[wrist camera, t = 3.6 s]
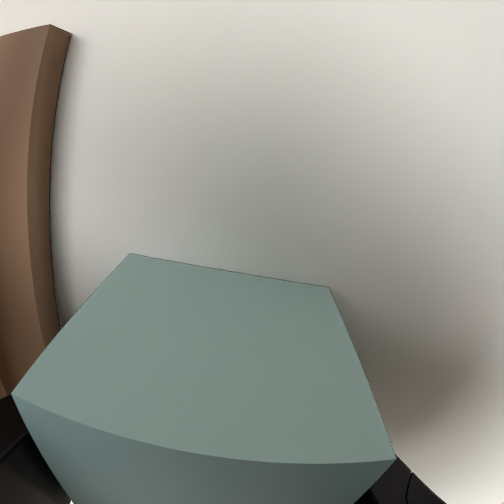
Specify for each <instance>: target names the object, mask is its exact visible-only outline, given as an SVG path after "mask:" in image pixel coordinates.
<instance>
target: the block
mask: <svg viewBox="0 0 504 504" xmlns="http://www.w3.org/2000/svg"><path fill="white" fill-rule="evenodd" d="M11 395H12V397H13V399H14V401H15V404H16V406H17V408H18V410H19V412H20V414H21V417H22V419H23V421H24V423H25V425H26V427H27V429H28V431H29V432H30V434H31V436H32V438H33V440H34V442H35V444H36V445H37V447H38V449H39V451H40V452H41V454H42V456H43V458H44V459H45V461H46V463H47V464H48V466H49V468H50V469H51V471H52V472H53V474H54V475H55V477H56V479H57V480H58V482H59V483H60V485H61V486H62V488H63V489H64V490H65V492H66V493H67V495H68V496H69V498H70V499H71V500H72V502H73V503H74V504H354V503H355V502H356V501H357V500H358V499H359V498H360V497H361V496H362V495H363V494H364V493H365V492H366V491H367V490H368V489H369V488H370V487H371V486H372V485H373V484H374V483H375V482H376V481H377V480H378V479H379V478H380V477H381V475H382V474H383V473H384V472H385V471H386V470H387V469H388V468H389V467H390V466H391V464H392V463H393V462H394V461H395V460H396V456H395V454H394V451H393V448H392V445H391V442H390V439H389V437H388V434H387V431H386V428H385V425H384V423H383V420H382V417H381V415H380V412H379V409H378V407H377V404H376V401H375V399H374V396H373V393H372V391H371V388H370V386H369V383H368V381H367V378H366V375H365V373H364V370H363V368H362V365H361V363H360V360H359V358H358V355H357V353H356V351H355V348H354V346H353V343H352V341H351V338H350V336H349V334H348V331H347V329H346V326H345V324H344V322H343V319H342V317H341V315H340V312H339V310H338V308H337V305H336V303H335V301H334V299H333V296H332V294H331V292H330V289H329V287H323V286H316V285H310V284H303V283H297V282H291V281H285V280H278V279H272V278H266V277H260V276H254V275H248V274H242V273H236V272H230V271H224V270H219V269H213V268H207V267H201V266H196V265H190V264H184V263H179V262H173V261H168V260H162V259H157V258H151V257H146V256H140V255H135V254H129V255H128V256H127V257H126V258H125V259H124V260H123V261H122V262H121V263H120V264H119V265H118V266H117V267H116V269H115V270H114V271H113V272H112V273H111V274H110V275H109V276H108V277H107V278H106V279H105V280H104V281H103V283H102V284H101V285H100V286H99V287H98V288H97V289H96V290H95V291H94V292H93V294H92V295H91V296H90V297H89V298H88V299H87V300H86V301H85V303H84V304H83V305H82V306H81V307H80V308H79V309H78V311H77V312H76V313H75V314H74V315H73V316H72V317H71V319H70V320H69V321H68V322H67V323H66V325H65V326H64V327H63V328H62V329H61V330H60V332H59V333H58V334H57V335H56V336H55V338H54V339H53V340H52V341H51V343H50V344H49V345H48V346H47V347H46V349H45V350H44V351H43V352H42V354H41V355H40V356H39V357H38V359H37V360H36V361H35V363H34V364H33V365H32V366H31V368H30V369H29V370H28V372H27V373H26V374H25V375H24V377H23V378H22V379H21V381H20V382H19V383H18V385H17V386H16V387H15V389H14V390H13V392H12V393H11Z"/></svg>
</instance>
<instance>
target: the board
mask: <svg viewBox="0 0 504 504" xmlns="http://www.w3.org/2000/svg"><path fill="white" fill-rule="evenodd" d="M70 35H71V33H69V32H67V31H65V30H63V29H60V28H58V27H55V26H53V25H51V24H49V25H44V26H39V27H35V28H30V29H26V30H22V31H18V32H14V33H11V34H7V35H4V36H0V399H1V398H3V397H5V396H7V395H9V394H11V393H12V392H13V390H14V389H15V387H16V386H17V385H18V383H19V382H20V381H21V379H22V378H23V377H24V375H25V374H26V373H27V372H28V370H29V369H30V368H31V366H32V365H33V364H34V363H35V361H36V360H37V359H38V357H39V356H40V355H41V354H42V352H43V351H44V350H45V349H46V347H47V346H48V345H49V344H50V343H51V341H52V340H53V339H54V338H55V336H56V335H57V334H58V333H59V332H60V327H59V321H58V314H57V308H56V300H55V292H54V284H53V274H52V262H51V247H50V224H49V186H50V163H51V148H52V137H53V127H54V119H55V111H56V104H57V97H58V91H59V85H60V80H61V75H62V69H63V65H64V60H65V55H66V51H67V47H68V43H69V39H70Z"/></svg>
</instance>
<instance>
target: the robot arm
mask: <svg viewBox="0 0 504 504" xmlns="http://www.w3.org/2000/svg"><path fill="white" fill-rule="evenodd" d="M394 454H395V453H394ZM395 456H396V460H395V461H394V462H393V463H392V464H391V466H390V467H389V468H388V469H387V470H386V471H385V472H384V473H383V474H382V475H381V477H380V478H379V479H378V480H377V481H376V482H375V483H374V484H373V485H372V486H371V487H370V488H369V489H368V490H367V491H366V492H365V493H364V494H363V495H362V496H361V497H360V498H359V499H358V500H357V501H356V502H355V503H354V504H446V503H445V502H444V501H443V500H442V499H440V498H439V497H438V496H437V495H436V494H435V493H434V492H432V491H431V490H430V489H429V488H428V487H427V486H426V485H425V484H424V483H423V482H422V481H421V480H420V479H419V478H418V477H417V476H416V475H415V474H414V473H413V472H412V473H411V470H410V469H409V468H408V467H407V466H406V465H405V464H404V463H403V462H402V461H401V459H400V458H399V457H398V456H397V455H396V454H395ZM70 502H71V499H70V498H69V496H68V495H67V493H66V492H65V490H64V489H63V488H62V486H61V485H60V483H59V482H58V480H57V479H56V477H55V475H54V474H53V472H52V471H51V469H50V468H49V466H48V464H47V463H46V461H45V459H44V458H43V456H42V454H41V452H40V451H39V449H38V447H37V445H36V444H35V442H34V440H33V438H32V436H31V434H30V432H29V431H28V429H27V427H26V425H25V423H24V421H23V419H22V417H21V414H20V412H19V410H18V408H17V406H16V404H15V401H14V399H13V397H12V395H11V394H9V395H7V396H5V397H3V398H1V399H0V504H70Z"/></svg>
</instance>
